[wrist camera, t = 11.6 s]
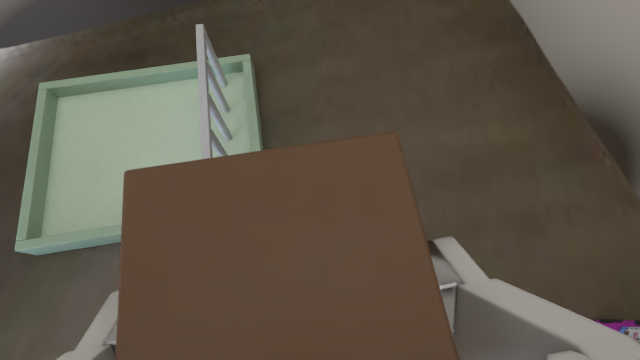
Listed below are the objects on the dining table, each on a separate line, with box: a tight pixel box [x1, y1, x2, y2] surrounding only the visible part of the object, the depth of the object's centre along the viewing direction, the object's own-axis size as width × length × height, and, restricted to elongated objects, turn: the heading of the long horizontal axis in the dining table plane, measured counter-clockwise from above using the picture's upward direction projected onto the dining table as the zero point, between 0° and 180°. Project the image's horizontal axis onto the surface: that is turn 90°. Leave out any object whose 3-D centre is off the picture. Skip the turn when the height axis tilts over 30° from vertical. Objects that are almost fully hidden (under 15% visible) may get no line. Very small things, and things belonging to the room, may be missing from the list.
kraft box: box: [115, 131, 459, 360], centre depth 10 cm, size 5×5×10 cm
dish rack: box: [15, 24, 264, 255], centre depth 29 cm, size 20×16×8 cm
